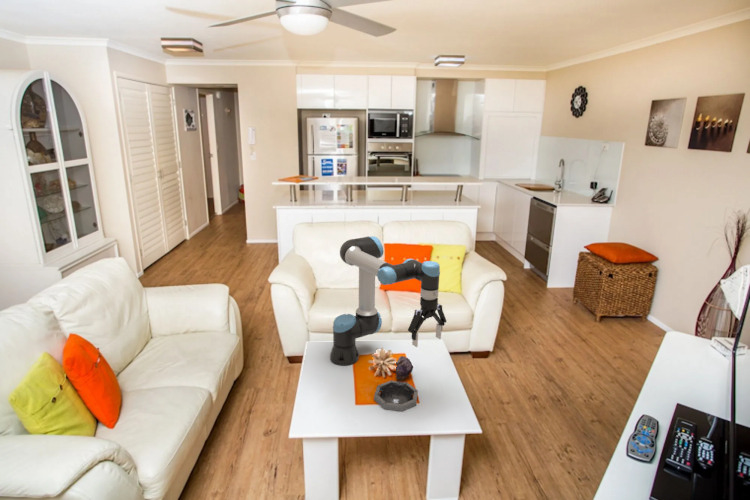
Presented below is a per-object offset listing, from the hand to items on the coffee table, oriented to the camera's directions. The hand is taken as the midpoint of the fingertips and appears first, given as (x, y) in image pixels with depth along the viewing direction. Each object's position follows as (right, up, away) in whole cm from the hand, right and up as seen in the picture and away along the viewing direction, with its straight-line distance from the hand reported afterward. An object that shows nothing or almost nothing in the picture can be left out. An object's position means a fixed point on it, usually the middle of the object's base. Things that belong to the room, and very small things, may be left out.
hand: (426, 341), depth 196 cm
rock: (-9, -22, +24) cm, 34 cm away
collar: (-13, -27, +6) cm, 31 cm away
